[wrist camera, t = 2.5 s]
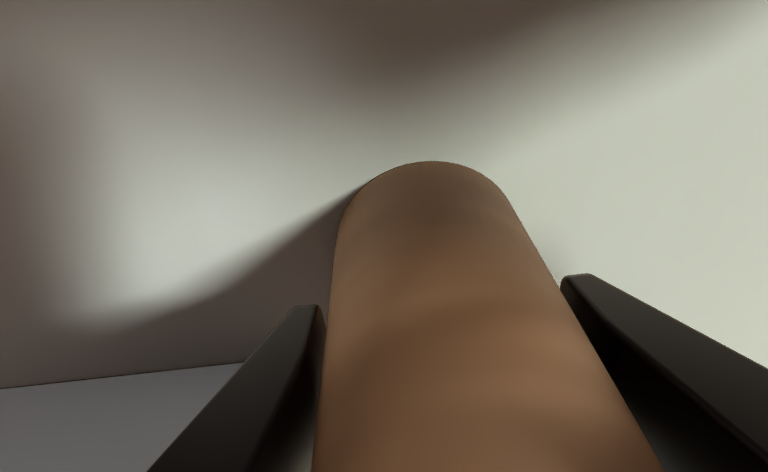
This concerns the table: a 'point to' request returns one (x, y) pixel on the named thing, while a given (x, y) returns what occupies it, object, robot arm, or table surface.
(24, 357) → the table surface
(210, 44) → the table surface
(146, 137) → the table surface
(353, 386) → the peg
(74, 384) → the socket block
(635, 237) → the table surface
